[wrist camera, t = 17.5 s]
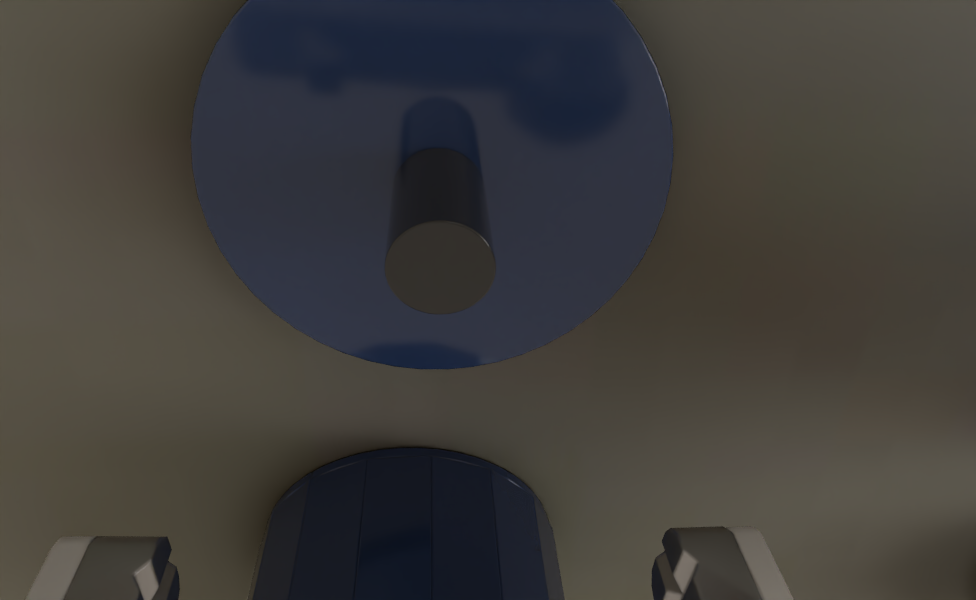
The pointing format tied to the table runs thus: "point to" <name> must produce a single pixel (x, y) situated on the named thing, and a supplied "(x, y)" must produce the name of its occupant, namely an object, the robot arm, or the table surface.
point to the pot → (408, 533)
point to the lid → (432, 169)
